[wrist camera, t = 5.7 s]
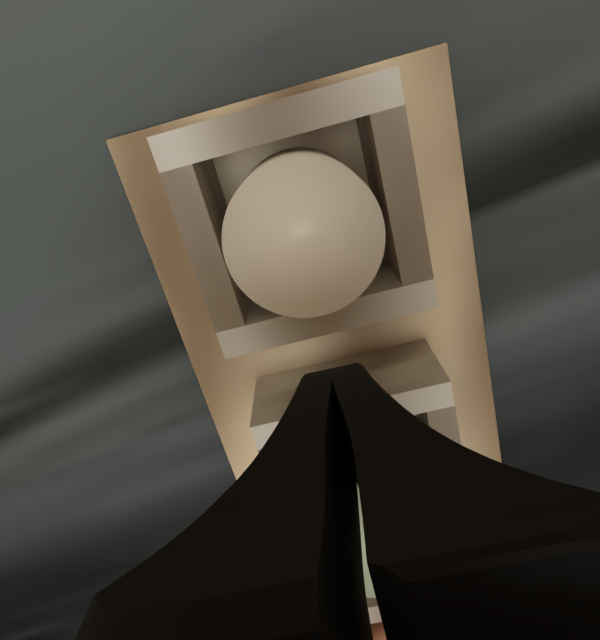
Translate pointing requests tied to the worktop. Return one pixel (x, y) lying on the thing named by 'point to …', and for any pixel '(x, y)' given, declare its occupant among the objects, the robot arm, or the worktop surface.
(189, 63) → the worktop surface
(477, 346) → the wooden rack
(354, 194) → the ivory key
